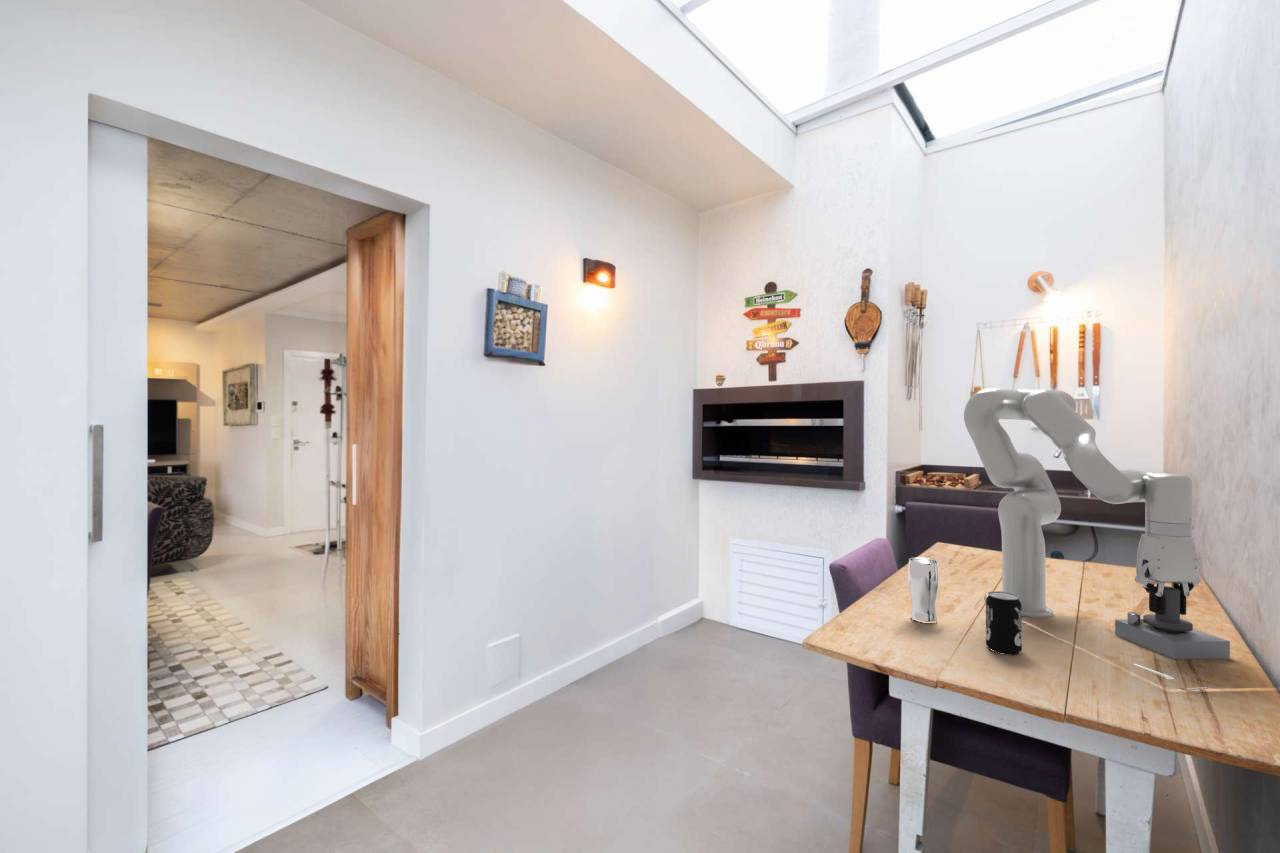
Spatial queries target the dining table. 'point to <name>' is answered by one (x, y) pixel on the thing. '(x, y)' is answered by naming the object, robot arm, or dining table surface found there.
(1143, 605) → the orange stick
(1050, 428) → the robot arm
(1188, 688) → the fork
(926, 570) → the beer glass
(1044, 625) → the dining table surface
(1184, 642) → the socket block
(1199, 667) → the dining table surface
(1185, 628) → the plug
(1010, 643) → the beverage can
